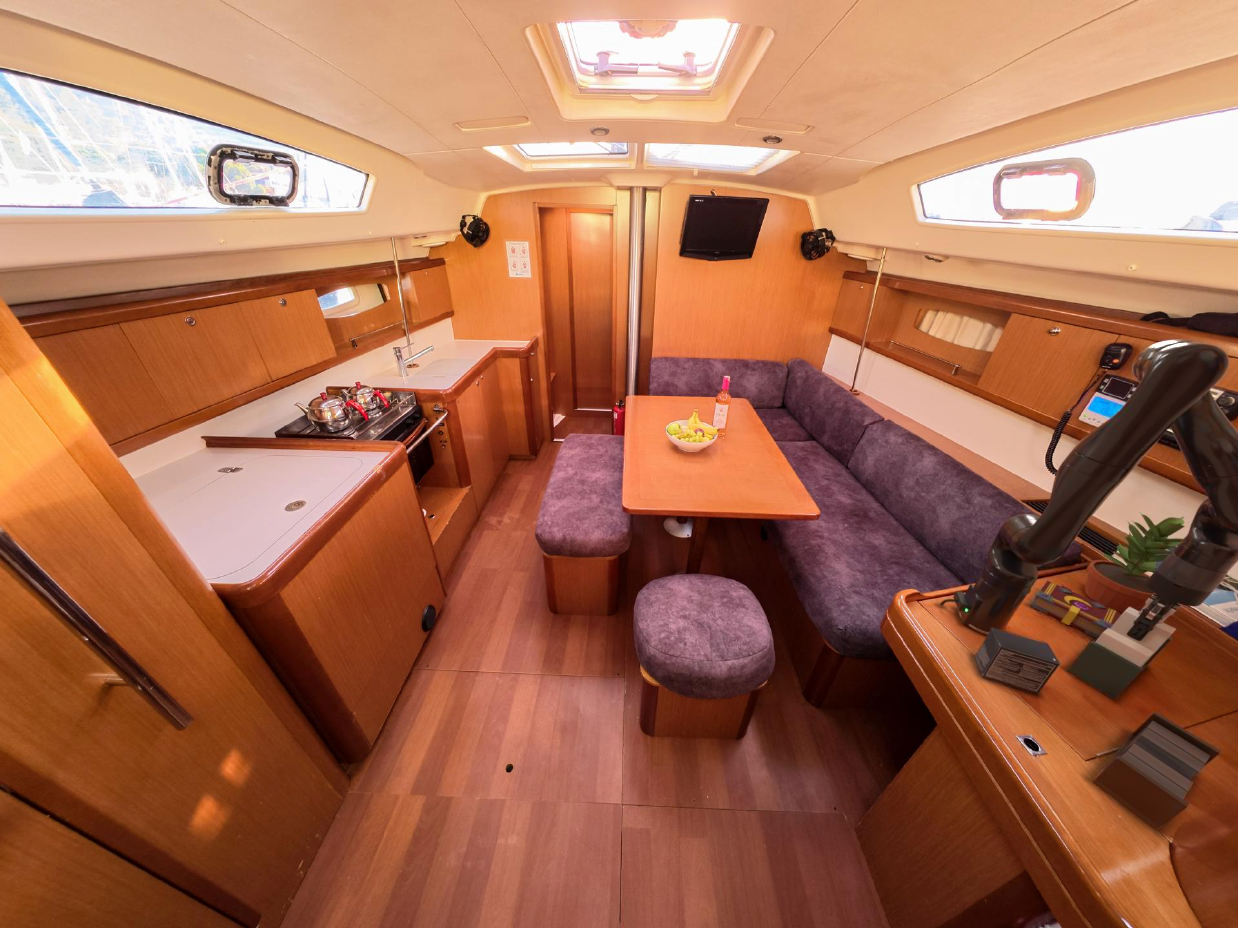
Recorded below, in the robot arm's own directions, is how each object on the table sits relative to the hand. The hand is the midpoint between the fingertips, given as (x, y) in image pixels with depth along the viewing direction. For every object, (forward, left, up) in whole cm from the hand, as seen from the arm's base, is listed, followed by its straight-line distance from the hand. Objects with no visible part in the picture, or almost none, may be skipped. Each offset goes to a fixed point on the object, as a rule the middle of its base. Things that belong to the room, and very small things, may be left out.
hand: (1136, 634), depth 91 cm
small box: (-24, -13, -12) cm, 30 cm away
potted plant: (+14, +32, -12) cm, 37 cm away
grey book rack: (-8, -29, -12) cm, 32 cm away
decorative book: (+1, +18, -12) cm, 22 cm away
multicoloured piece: (0, 0, -12) cm, 12 cm away
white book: (0, 0, -7) cm, 7 cm away
